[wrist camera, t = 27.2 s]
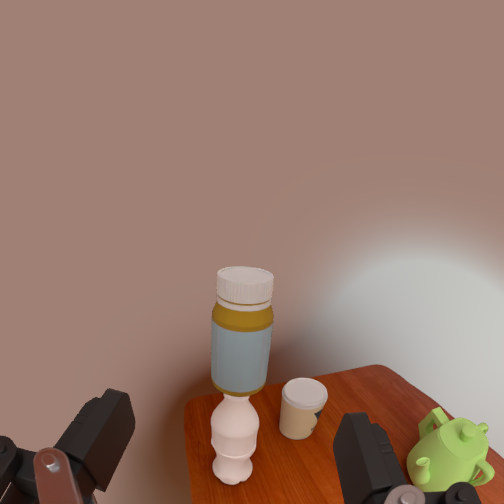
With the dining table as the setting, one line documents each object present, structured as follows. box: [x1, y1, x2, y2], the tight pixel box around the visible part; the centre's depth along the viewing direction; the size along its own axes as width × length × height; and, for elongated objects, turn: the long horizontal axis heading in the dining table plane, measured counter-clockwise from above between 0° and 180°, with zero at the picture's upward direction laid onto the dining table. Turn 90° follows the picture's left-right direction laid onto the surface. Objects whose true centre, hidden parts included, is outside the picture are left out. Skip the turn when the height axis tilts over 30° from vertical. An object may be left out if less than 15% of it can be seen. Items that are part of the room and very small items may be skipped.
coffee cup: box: [279, 378, 328, 439], centre depth 52 cm, size 9×9×12 cm
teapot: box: [407, 407, 494, 492], centre depth 31 cm, size 19×20×14 cm
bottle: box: [211, 266, 274, 397], centre depth 32 cm, size 7×7×15 cm
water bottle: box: [211, 394, 259, 485], centre depth 37 cm, size 7×7×25 cm
